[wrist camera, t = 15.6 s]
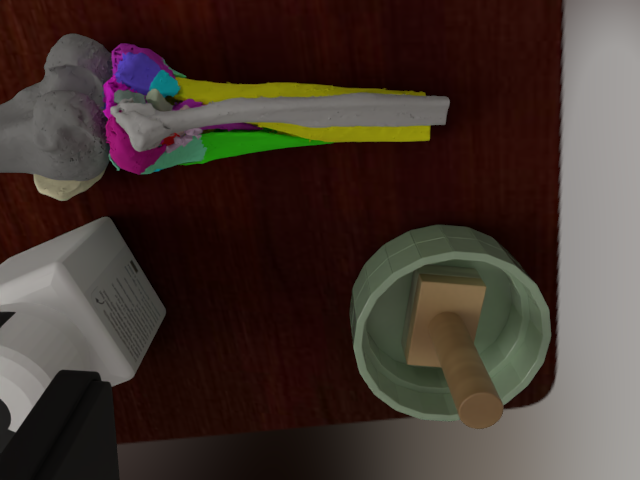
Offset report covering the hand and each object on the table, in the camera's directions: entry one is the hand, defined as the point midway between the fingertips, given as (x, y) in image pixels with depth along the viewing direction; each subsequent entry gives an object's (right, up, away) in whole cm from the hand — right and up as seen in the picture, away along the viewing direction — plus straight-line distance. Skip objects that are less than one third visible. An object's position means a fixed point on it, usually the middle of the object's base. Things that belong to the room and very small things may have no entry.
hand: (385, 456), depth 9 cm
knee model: (-7, +11, +24) cm, 27 cm away
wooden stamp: (+7, -1, +28) cm, 28 cm away
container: (-16, +1, +28) cm, 32 cm away
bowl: (+7, -1, +28) cm, 29 cm away
